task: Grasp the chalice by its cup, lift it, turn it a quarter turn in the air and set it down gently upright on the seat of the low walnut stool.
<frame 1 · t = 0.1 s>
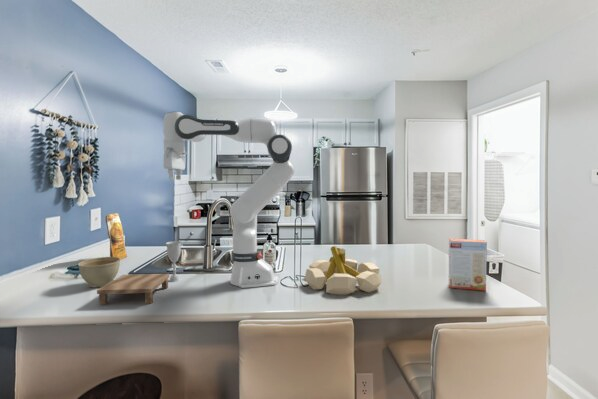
hand: (175, 179, 144), 48 cm above the counter, tool pointing down, fingers open, 8 cm apart
pancake mix bag: (117, 259, 194), on the counter
planter bowl: (100, 284, 146), on the counter
chalice: (174, 280, 152), on the counter
campfire: (342, 283, 146), on the counter
stool: (136, 295, 131), on the counter
cracker box: (466, 288, 138), on the counter
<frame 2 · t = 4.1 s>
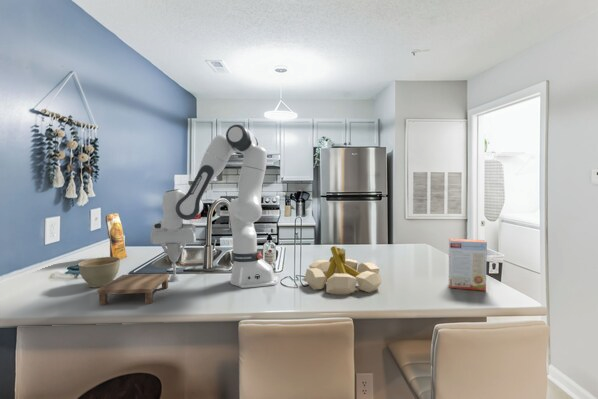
hand: (174, 252, 151), 13 cm above the counter, tool pointing down, fingers closed on chalice, 6 cm apart
chalice: (174, 280, 152), on the counter, touching gripper
everything else where it was.
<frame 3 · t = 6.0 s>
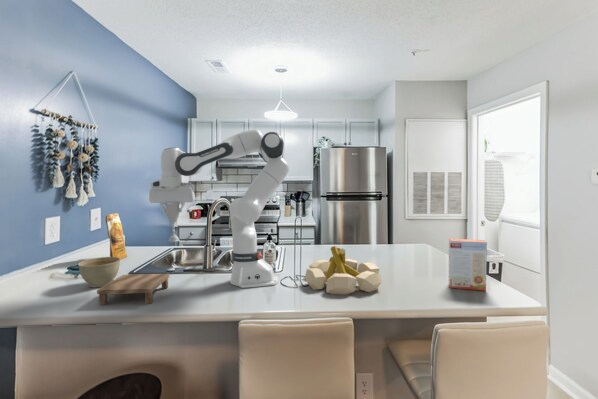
hand: (172, 212, 150), 32 cm above the counter, tool pointing down, fingers closed on chalice, 6 cm apart
chalice: (174, 241, 151), point 19 cm above the counter, touching gripper
everything else where it was.
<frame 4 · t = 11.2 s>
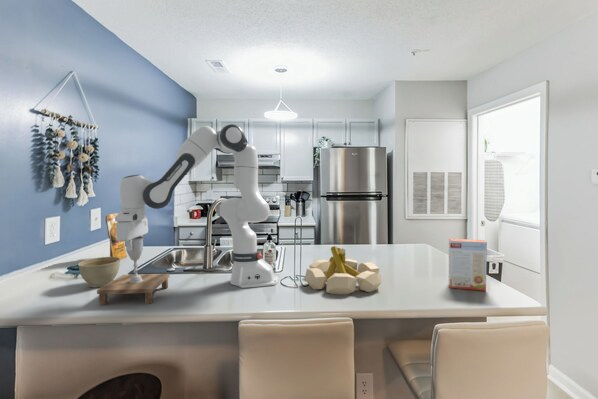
hand: (134, 248, 130), 20 cm above the counter, tool pointing down, fingers closed on chalice, 6 cm apart
chalice: (136, 281, 131), point 6 cm above the counter, touching gripper, stool
everything else where it was.
when the fingers open (20 cm above the counter, at t = 11.8 s): chalice stays where it is, resting on stool.
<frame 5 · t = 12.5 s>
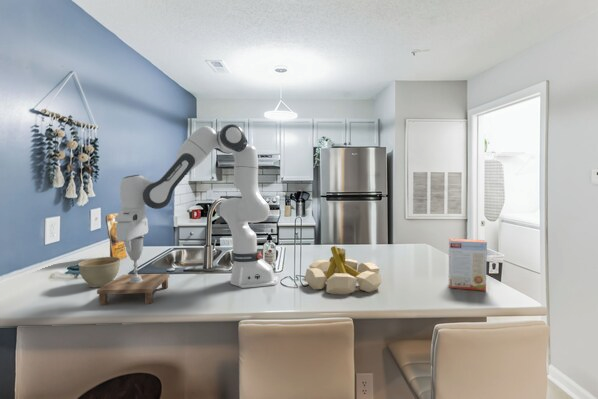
hand: (134, 248, 130), 20 cm above the counter, tool pointing down, fingers open, 8 cm apart
chalice: (136, 281, 131), point 6 cm above the counter, touching stool
everything else where it was.
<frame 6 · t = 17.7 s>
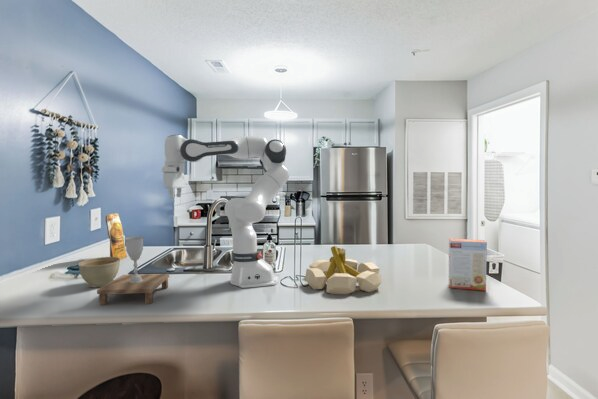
hand: (175, 197, 154), 39 cm above the counter, tool pointing down, fingers open, 8 cm apart
nothing on the counter moved.
at the end: chalice inside the target area on the stool (0.0 cm from its centre), point 5.8 cm above the stool's base; chalice tilted 0°; the gripper is holding nothing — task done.
